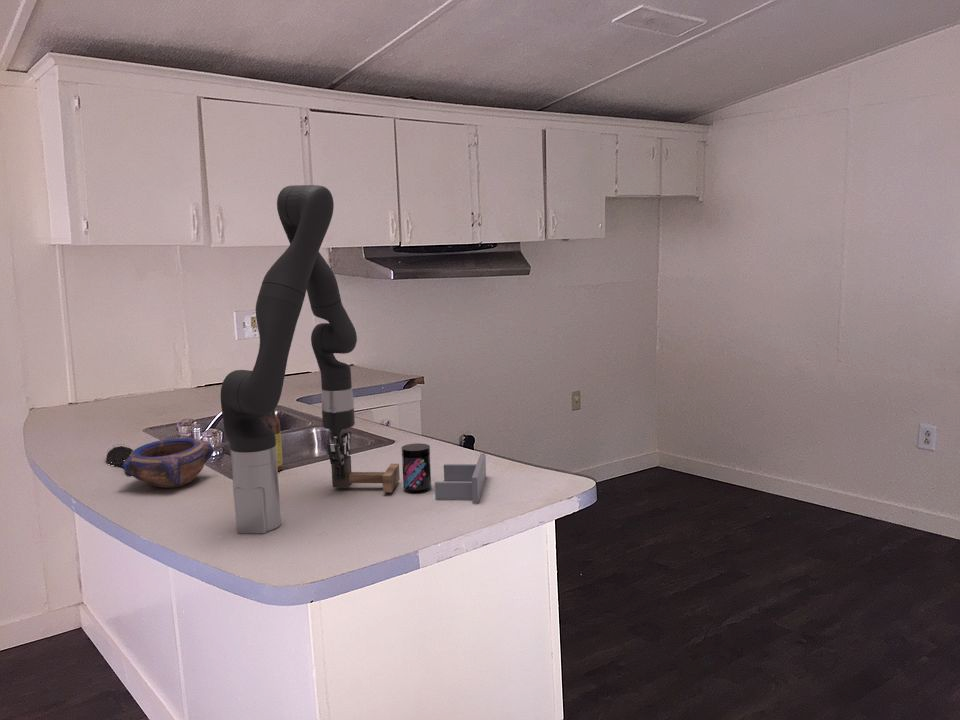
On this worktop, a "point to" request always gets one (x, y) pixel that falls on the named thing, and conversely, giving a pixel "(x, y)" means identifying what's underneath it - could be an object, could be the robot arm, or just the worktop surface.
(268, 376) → the robot arm
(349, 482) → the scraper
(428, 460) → the supplement container
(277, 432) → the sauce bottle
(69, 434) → the worktop surface
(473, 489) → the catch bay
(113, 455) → the hairbrush
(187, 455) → the bowl
